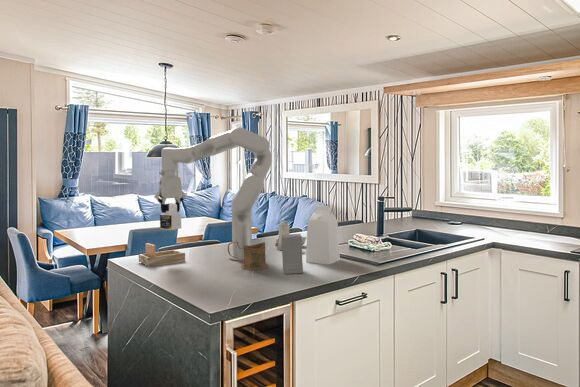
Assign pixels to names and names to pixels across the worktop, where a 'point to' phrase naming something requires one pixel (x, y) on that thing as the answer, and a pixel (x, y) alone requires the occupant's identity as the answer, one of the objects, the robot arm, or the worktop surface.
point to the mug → (253, 256)
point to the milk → (322, 237)
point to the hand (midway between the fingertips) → (170, 211)
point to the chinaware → (284, 231)
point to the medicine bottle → (170, 218)
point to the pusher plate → (150, 250)
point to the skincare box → (292, 254)
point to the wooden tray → (163, 258)
